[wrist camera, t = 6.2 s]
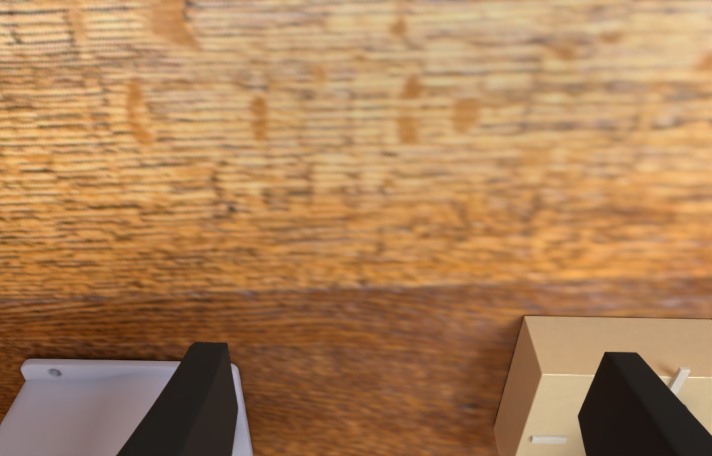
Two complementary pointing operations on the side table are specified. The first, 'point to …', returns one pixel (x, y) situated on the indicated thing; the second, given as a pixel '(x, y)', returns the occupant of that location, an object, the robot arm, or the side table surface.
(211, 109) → the side table surface
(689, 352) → the block
